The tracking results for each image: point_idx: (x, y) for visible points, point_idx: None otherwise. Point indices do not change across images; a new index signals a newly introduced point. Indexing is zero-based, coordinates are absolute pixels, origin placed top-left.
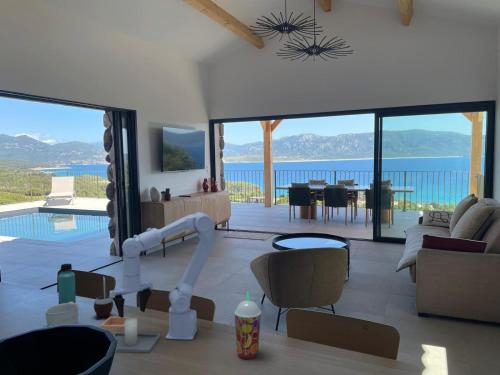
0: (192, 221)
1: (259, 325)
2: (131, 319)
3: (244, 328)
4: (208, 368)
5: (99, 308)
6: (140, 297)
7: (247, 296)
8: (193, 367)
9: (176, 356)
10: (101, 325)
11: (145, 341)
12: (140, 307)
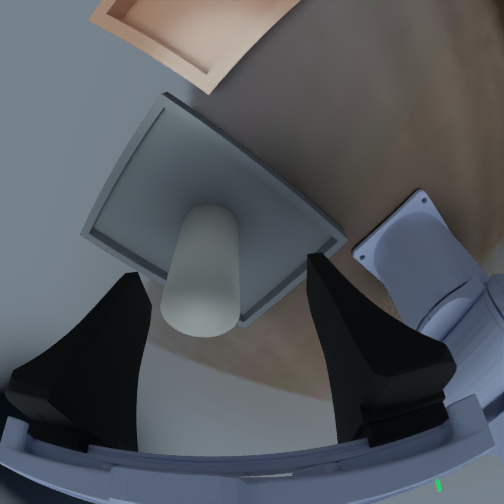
0: None
1: None
2: (203, 313)
3: None
4: (321, 395)
5: None
6: (341, 342)
7: (436, 484)
8: (302, 388)
9: (303, 350)
10: (96, 19)
11: (270, 245)
12: (313, 274)
